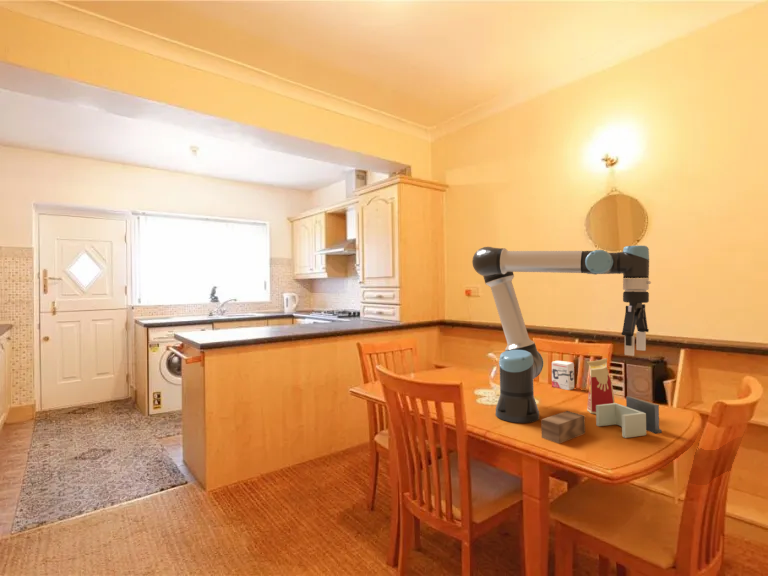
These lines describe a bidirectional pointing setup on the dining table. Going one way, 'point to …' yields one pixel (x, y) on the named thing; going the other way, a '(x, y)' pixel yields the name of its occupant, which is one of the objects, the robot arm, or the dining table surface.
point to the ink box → (563, 375)
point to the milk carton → (599, 385)
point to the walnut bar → (563, 426)
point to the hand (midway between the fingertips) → (635, 352)
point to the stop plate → (647, 408)
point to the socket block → (622, 419)
